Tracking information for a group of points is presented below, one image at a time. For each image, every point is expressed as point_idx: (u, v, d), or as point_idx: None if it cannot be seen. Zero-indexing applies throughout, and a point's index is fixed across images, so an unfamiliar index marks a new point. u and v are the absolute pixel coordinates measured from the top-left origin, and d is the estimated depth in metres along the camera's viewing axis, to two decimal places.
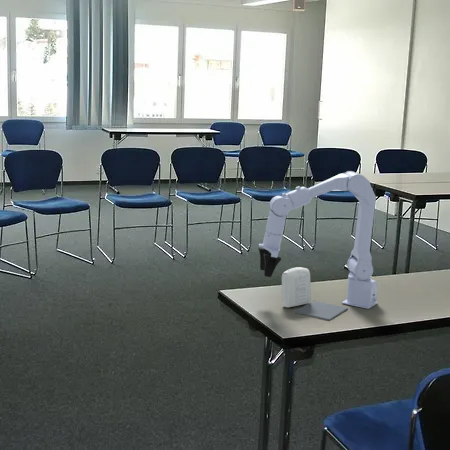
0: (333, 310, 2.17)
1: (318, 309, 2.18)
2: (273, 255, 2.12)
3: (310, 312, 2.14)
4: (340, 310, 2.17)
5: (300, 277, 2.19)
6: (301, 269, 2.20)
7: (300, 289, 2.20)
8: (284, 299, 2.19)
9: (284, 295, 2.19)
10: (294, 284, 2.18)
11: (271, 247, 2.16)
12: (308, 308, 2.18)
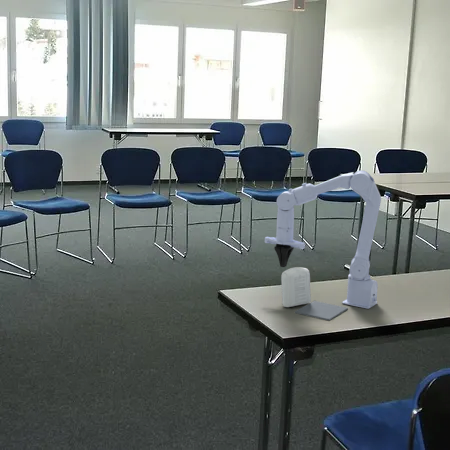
0: (333, 310, 2.17)
1: (318, 309, 2.18)
2: (302, 247, 2.24)
3: (310, 312, 2.14)
4: (340, 310, 2.17)
5: (300, 277, 2.19)
6: (301, 269, 2.21)
7: (300, 289, 2.20)
8: (284, 299, 2.19)
9: (284, 294, 2.19)
10: (293, 283, 2.18)
11: (291, 241, 2.26)
12: (308, 308, 2.18)
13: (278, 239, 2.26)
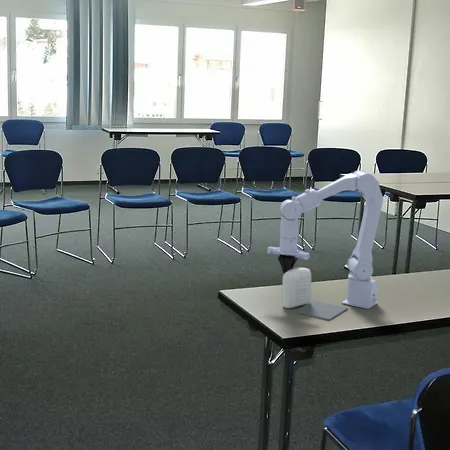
0: (333, 310, 2.17)
1: (318, 309, 2.18)
2: (307, 258, 2.17)
3: (310, 312, 2.14)
4: (340, 310, 2.17)
5: (301, 279, 2.18)
6: (302, 270, 2.19)
7: (301, 290, 2.19)
8: (284, 300, 2.19)
9: (285, 295, 2.18)
10: (295, 285, 2.17)
11: (295, 251, 2.19)
12: (308, 308, 2.18)
13: (282, 249, 2.19)
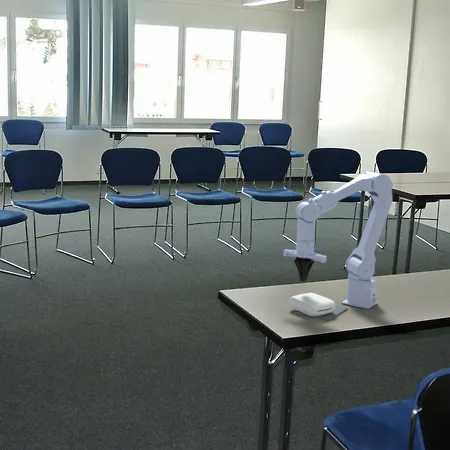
0: None
1: None
2: (324, 260, 2.13)
3: None
4: (340, 310, 2.17)
5: None
6: None
7: None
8: (294, 304, 2.15)
9: (296, 306, 2.14)
10: None
11: (312, 254, 2.15)
12: None
13: (298, 252, 2.16)
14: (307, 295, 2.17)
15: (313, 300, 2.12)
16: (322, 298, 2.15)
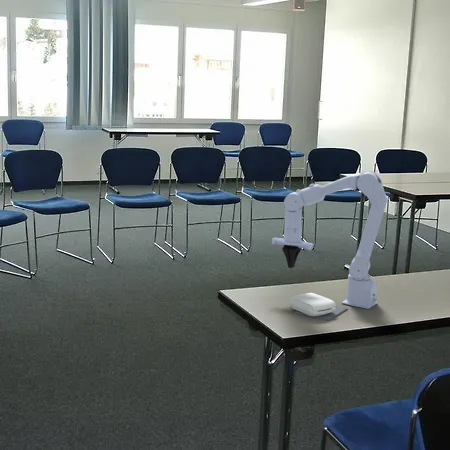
0: None
1: None
2: (310, 248, 2.25)
3: None
4: (340, 310, 2.17)
5: None
6: None
7: None
8: (294, 304, 2.15)
9: (296, 306, 2.14)
10: None
11: (299, 241, 2.27)
12: None
13: (286, 240, 2.27)
14: (307, 295, 2.17)
15: (313, 300, 2.12)
16: (322, 298, 2.15)
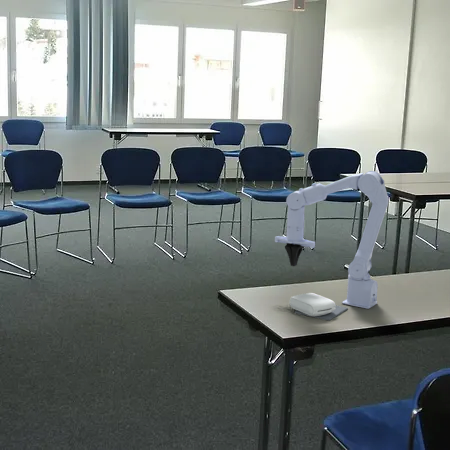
0: None
1: None
2: (313, 246, 2.26)
3: None
4: (340, 310, 2.17)
5: None
6: None
7: None
8: (294, 304, 2.15)
9: (296, 306, 2.14)
10: None
11: (301, 240, 2.28)
12: None
13: (289, 238, 2.28)
14: (307, 295, 2.17)
15: (313, 300, 2.12)
16: (322, 298, 2.15)
